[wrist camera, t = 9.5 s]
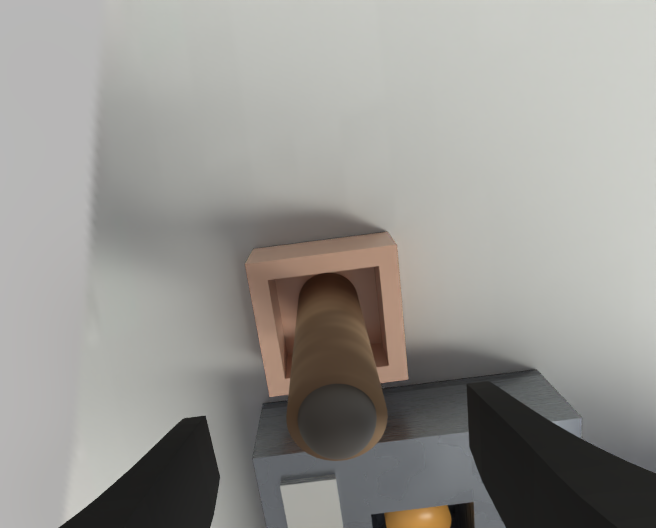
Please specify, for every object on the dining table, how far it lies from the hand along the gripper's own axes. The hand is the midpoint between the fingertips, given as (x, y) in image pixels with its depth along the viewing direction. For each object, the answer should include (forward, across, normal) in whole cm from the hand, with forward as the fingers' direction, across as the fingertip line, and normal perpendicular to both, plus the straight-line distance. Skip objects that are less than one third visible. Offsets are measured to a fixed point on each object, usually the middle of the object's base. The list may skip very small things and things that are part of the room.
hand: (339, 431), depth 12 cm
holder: (+10, 0, 0) cm, 10 cm away
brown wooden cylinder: (+9, 0, 0) cm, 9 cm away
